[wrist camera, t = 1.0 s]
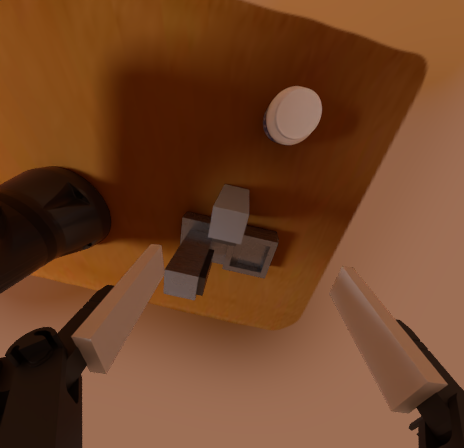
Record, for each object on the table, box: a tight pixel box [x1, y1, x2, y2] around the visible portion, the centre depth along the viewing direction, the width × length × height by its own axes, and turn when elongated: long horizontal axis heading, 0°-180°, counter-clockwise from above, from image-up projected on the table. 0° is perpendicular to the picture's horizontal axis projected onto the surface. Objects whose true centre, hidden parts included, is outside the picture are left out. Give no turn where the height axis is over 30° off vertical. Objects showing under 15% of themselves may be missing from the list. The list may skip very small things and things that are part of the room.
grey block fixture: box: [164, 212, 279, 300], centre depth 27 cm, size 16×8×12 cm, turn 78°
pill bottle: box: [263, 86, 322, 145], centre depth 20 cm, size 5×5×9 cm
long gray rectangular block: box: [208, 184, 249, 247], centre depth 25 cm, size 5×4×10 cm
